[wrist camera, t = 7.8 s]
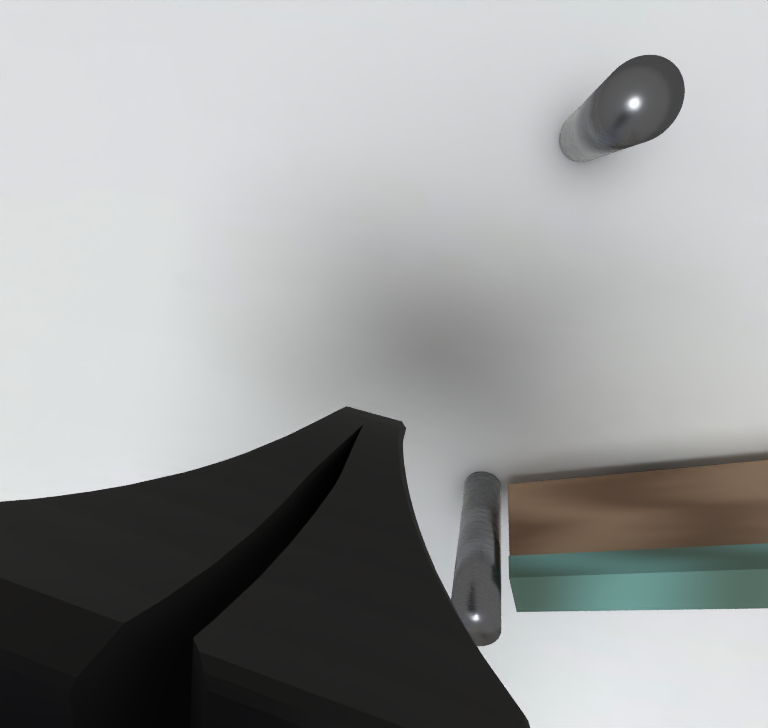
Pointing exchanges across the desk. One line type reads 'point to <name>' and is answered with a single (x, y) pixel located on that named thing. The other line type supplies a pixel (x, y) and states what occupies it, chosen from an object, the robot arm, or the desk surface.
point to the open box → (642, 540)
